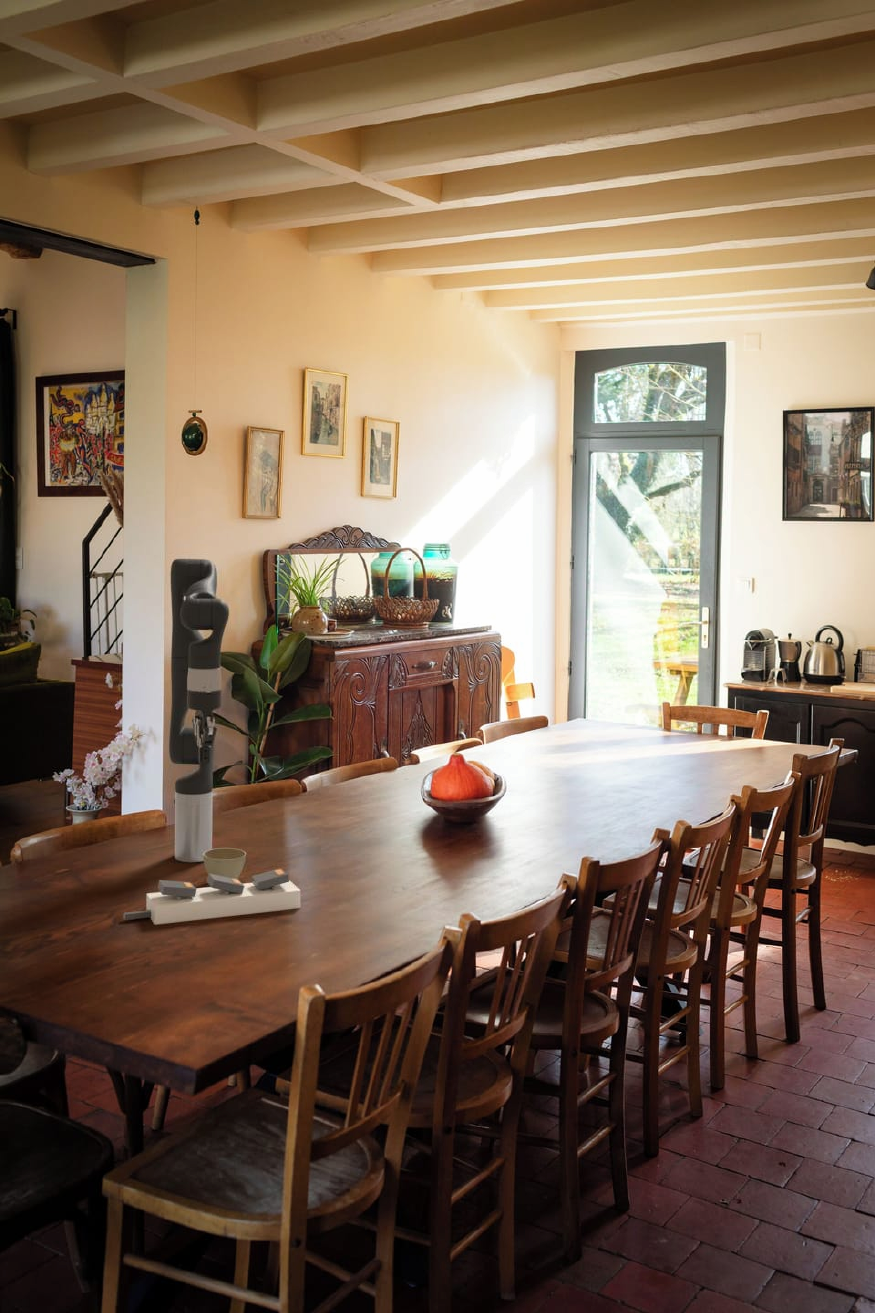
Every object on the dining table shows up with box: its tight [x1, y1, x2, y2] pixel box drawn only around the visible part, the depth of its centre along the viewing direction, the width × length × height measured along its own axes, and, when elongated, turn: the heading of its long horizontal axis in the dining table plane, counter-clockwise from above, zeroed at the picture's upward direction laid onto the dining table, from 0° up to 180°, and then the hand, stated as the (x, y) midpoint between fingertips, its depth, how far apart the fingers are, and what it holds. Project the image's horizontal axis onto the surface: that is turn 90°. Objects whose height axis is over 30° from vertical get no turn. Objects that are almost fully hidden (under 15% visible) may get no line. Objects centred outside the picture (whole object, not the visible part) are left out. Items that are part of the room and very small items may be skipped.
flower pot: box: [203, 847, 247, 880], centre depth 275 cm, size 10×10×7 cm
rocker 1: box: [157, 879, 197, 897], centre depth 252 cm, size 5×7×2 cm
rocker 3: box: [251, 867, 290, 890], centre depth 260 cm, size 5×7×2 cm
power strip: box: [123, 879, 302, 926], centre depth 255 cm, size 9×38×5 cm, turn 115°
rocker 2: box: [206, 873, 244, 894], centre depth 256 cm, size 5×7×2 cm
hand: (204, 763), depth 264 cm, fingers closed
